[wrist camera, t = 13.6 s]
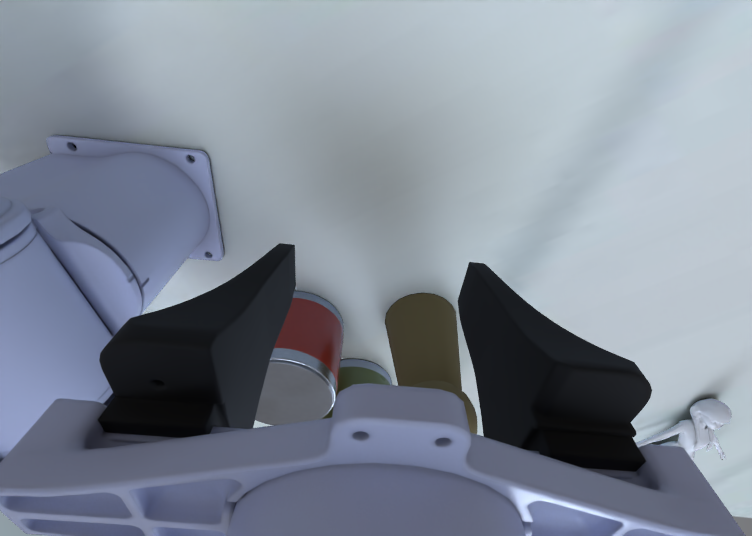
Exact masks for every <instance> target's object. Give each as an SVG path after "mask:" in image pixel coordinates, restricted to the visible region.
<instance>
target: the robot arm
mask: <svg viewBox="0 0 752 536" xmlns="http://www.w3.org/2000/svg"><path fill="white" fill-rule="evenodd" d="M46 142H47V146H48V148H49V151H50V153H51V154H50V155H47V156H45V157H42V158H40V159H37V160H35V161H32V162H29V163H27V164H24V165H22V166H19V167H17V168H14V169H12V170H9V171H7V172H4V173H2V174H0V511H1V512H2V513H3V514H4V515H5V516H7V517H8V518H9V519H10V520H11V521H12V522H13V523H14V524H15V525H17V526H18V527H19V528H20V529H21V530H22V531H23V532H24V533H26V534H36V535H48V536H746V535H745V534H744V532H743V531H742V530H741V528H740V527H739V526H738V524H737V523H736V521H735V520H734V518H733V517H732V515H731V514H730V513H729V511H728V510H727V508H726V507H725V506H724V504H723V503H722V501H721V500H720V498H719V497H718V496H717V494H716V493H715V491H714V490H713V489H712V487H711V486H710V484H709V483H708V482H707V480H706V479H705V477H704V476H703V474H702V473H701V472H700V470H699V469H698V467H697V466H696V465H695V463H694V462H693V460H692V459H691V457H690V456H689V455H688V453H687V452H686V450H685V449H684V448H682V447H678V446H666V445H653V444H649V445H643V446H640V447H637V445H636V443H635V442H634V440H633V438H632V437H634V436H635V435H636V431H635V429H634V428H633V426H632V424H631V423H630V422H631V421H632V420H633V419H634V418H635V417H636V416H637V414H638V413H639V412H640V411H641V410H642V409H643V408H644V406H645V405H646V404H647V402H648V400H649V399H650V396H651V392H652V389H651V386H650V383H649V382H648V380H647V379H646V378H645V376H644V375H643V374H642V372H641V371H640V370H639V368H638V367H637V366H636V364H635V363H634V362H632V361H630V360H628V359H625V358H623V357H620V356H618V355H615V354H613V353H611V352H608V351H606V350H604V349H602V348H599V347H597V346H595V345H593V344H591V343H589V342H587V341H585V340H583V339H581V338H580V337H578V336H576V335H574V334H572V333H571V332H569V331H567V330H566V329H564V328H562V327H560V326H559V325H557V324H556V323H554V322H553V321H551V320H550V319H548V318H547V317H545V316H544V315H543V314H541V313H540V312H538V311H537V310H536V309H534V308H533V307H532V306H531V305H529V304H528V303H527V302H526V301H525V300H523V299H522V298H521V297H520V296H519V295H518V294H516V293H515V292H514V291H513V290H512V289H511V288H510V287H509V286H508V285H507V284H506V283H504V282H503V281H502V280H501V279H500V278H499V277H498V276H497V275H496V274H495V273H494V272H493V271H492V270H491V269H490V268H489V267H487V266H486V265H485V264H483V263H473V262H469V265H468V269H467V272H466V275H465V279H464V282H463V285H462V288H461V292H460V295H459V298H458V306H459V314H460V321H461V325H462V329H463V332H464V336H465V339H466V343H467V346H468V350H469V353H470V357H471V360H472V364H473V368H474V372H475V377H476V383H477V389H478V395H479V402H480V409H481V416H482V425H483V434H484V437H483V436H480V435H477V434H474V433H471V432H470V429H469V424H468V420H467V415H466V410H465V406H464V402H463V401H462V400H461V399H460V398H459V397H458V396H457V395H456V394H454V393H451V392H448V391H444V390H440V389H431V388H419V387H407V386H395V385H383V384H371V383H366V384H354V385H352V386H350V387H348V388H346V389H344V390H342V391H340V392H339V393H338V395H337V397H336V399H335V401H334V407H333V415H332V418H327V419H319V420H312V421H304V422H297V423H289V424H282V425H274V426H267V427H259V428H253V425H254V421H255V417H256V413H257V408H258V404H259V400H260V396H261V392H262V388H263V384H264V380H265V376H266V373H267V369H268V365H269V362H270V358H271V355H272V352H273V349H274V347H275V344H276V342H277V339H278V337H279V334H280V332H281V329H282V327H283V324H284V322H285V319H286V316H287V314H288V311H289V309H290V306H291V302H292V299H293V294H294V290H295V286H296V280H295V245H291V244H281V243H279V244H278V245H277V246H275V247H274V248H273V249H272V250H270V251H269V252H268V253H267V254H266V255H264V256H263V257H262V258H261V259H259V260H258V261H257V262H255V263H254V264H253V265H252V266H250V267H249V268H247V269H246V270H244V271H243V272H242V273H240V274H239V275H237V276H236V277H234V278H233V279H231V280H229V281H228V282H226V283H224V284H222V285H220V286H219V287H217V288H215V289H213V290H211V291H209V292H206V293H204V294H202V295H200V296H197V297H195V298H193V299H191V300H188V301H185V302H183V303H180V304H177V305H174V306H171V307H168V308H165V309H162V310H159V311H155V312H151V313H148V314H144V315H141V314H142V313H143V312H144V311H145V309H146V308H147V307H148V306H149V304H150V303H151V302H152V301H153V300H154V298H155V297H156V296H157V295H158V293H159V292H160V291H161V290H162V289H163V287H164V286H165V285H166V284H167V282H168V281H169V280H170V279H171V278H172V276H173V275H174V274H175V273H176V271H177V270H178V269H179V268H180V267H181V265H182V264H183V263H184V262H185V260H186V259H187V258H190V259H201V260H213V261H220V260H221V259H222V258H223V256H224V250H223V243H222V237H221V231H220V225H219V218H218V212H217V206H216V199H215V193H214V187H213V180H212V174H211V168H210V162H209V157H208V155H207V154H206V153H205V152H203V151H201V150H193V149H183V148H174V147H164V146H155V145H145V144H136V143H126V142H117V141H107V140H98V139H88V138H79V137H69V136H60V135H53V136H50V137H48V138H47V140H46ZM72 143H73V144H75V145H76V147H77V149H76V148H74V147H73V145H72ZM189 155H192V156H193V157H194V159H195V161H191V160H190V158H189ZM207 252H210V253H211V254H212V255H209V254H208V253H207Z"/></svg>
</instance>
